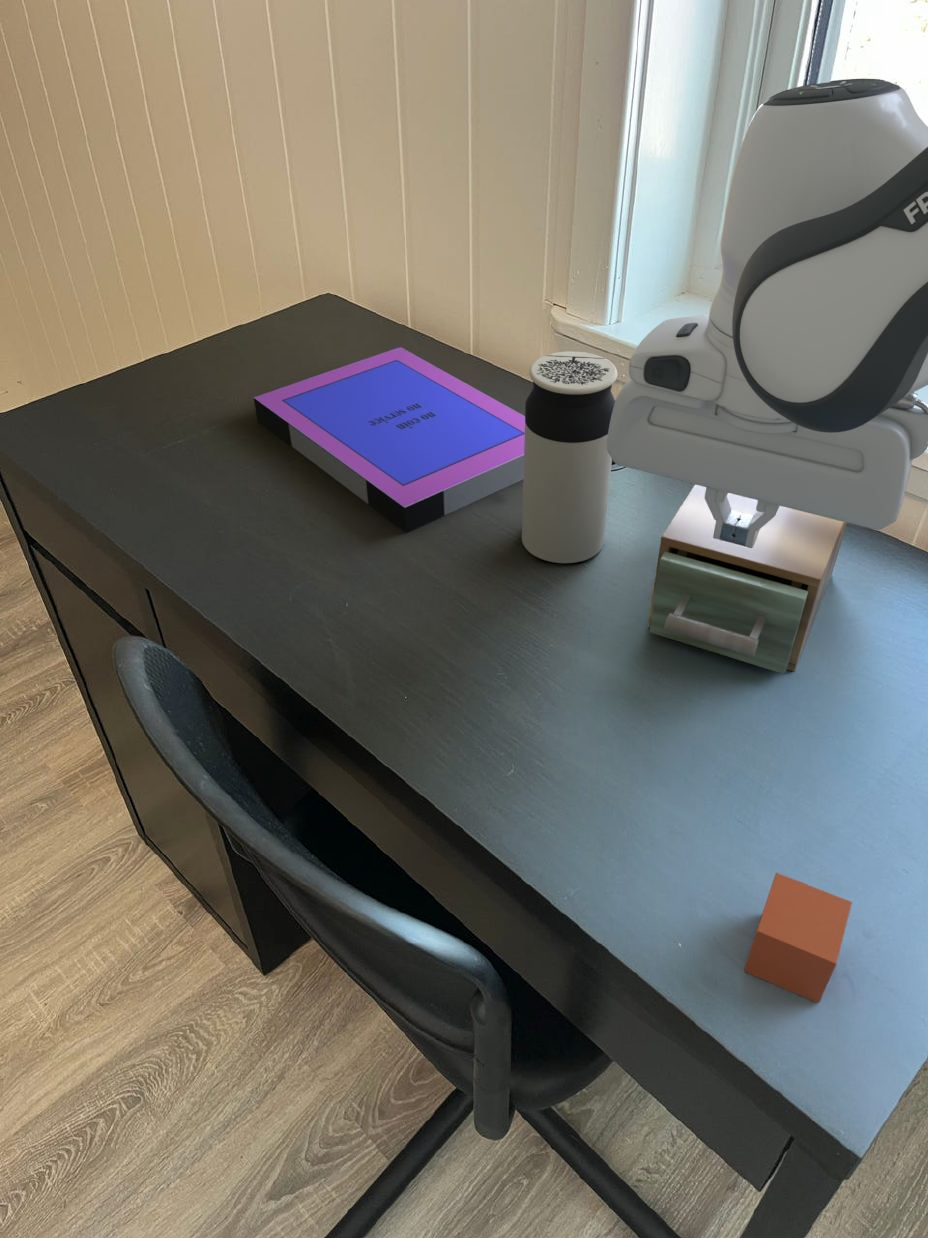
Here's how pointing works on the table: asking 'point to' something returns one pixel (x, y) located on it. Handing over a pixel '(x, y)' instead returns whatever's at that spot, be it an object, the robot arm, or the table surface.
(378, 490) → the book
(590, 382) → the travel mug
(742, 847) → the table surface
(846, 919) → the block
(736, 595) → the drawer
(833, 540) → the cabinet
